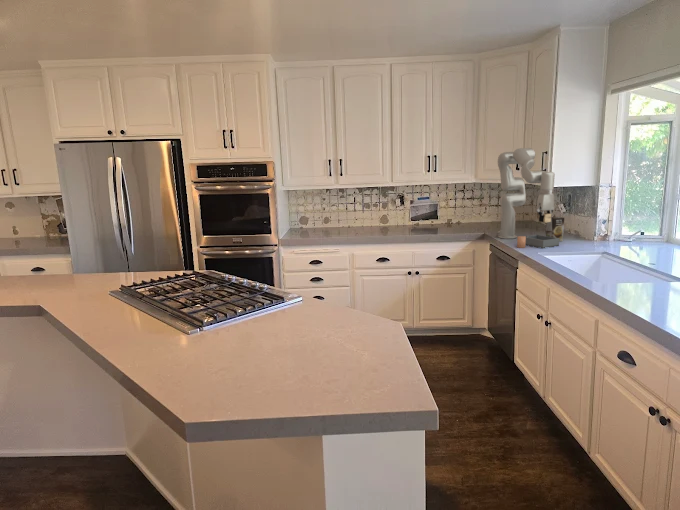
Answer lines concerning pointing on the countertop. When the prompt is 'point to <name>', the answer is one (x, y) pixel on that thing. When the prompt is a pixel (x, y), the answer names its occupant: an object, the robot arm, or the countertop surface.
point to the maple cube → (547, 217)
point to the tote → (541, 241)
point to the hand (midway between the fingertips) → (544, 220)
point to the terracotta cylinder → (521, 241)
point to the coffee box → (555, 228)
